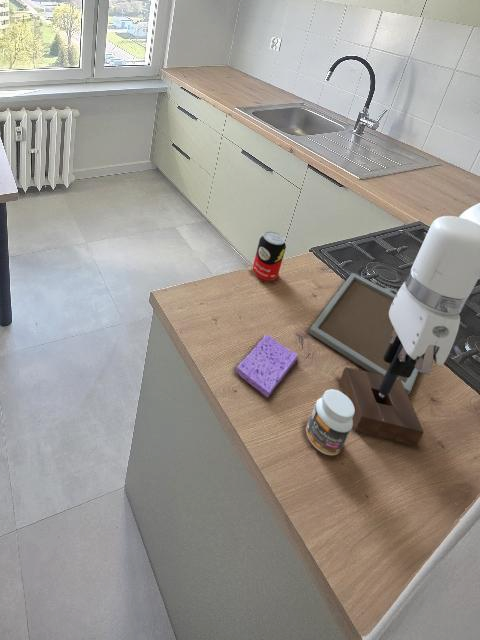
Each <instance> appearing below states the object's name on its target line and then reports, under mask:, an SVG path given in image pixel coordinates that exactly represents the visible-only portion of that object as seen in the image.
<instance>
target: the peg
mask: <svg viewBox="0 0 480 640" xmlns="http://www.w3.org/2000/svg"><path fill="white" fill-rule="evenodd" d="M402 348H403V345H402V343H400V345H399V348H398V350H397V352H396V354H395V355H399V354H400V352H401V350H402ZM394 357H395V356H394ZM393 359H394V358H393ZM392 361H393V360H392ZM391 363H392V362H391ZM390 365H391V364H390ZM389 367H390V366H389ZM397 377H398V375H394V374H390V372H389V368H388V370H387V372H386V374H385V376H384V378H383V380H382V382H381V384H380V386H379V388H378V390H379V392H380V393H379V395H380V396H381V397H384V396H388V395H389V393H390V391H391V389H392V387H393V385H394V383H395V381H396V379H397Z"/></svg>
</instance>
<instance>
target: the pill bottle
mask: <svg viewBox="0 0 480 640" xmlns="http://www.w3.org/2000/svg"><path fill="white" fill-rule="evenodd" d="M354 413H355V408H354V405H353V403H352V401H351V400H350V399H349V398H348V397H347V396H346V395H345V394H344V392H343V391H340V390H337V389H326V391H324V392H323V394H322V396H321V397H319V398H318V399H317V400H316V402H315V405H314V407H313V410H312V412H311V415H310V417H309V419H308V422H307V424H306V428H305V431H306V436H307V438H308V441H309V442H310V443H311V445H312V446H313V447H314V448H315V449H316V450H318V451H319V452H320V453H322V454H324V455H327V456H336V455H338V454H339V453H340V452H341V451H342V449H343V447H344V445H345V443H346V441H347V439H348V437H349V435H350V433H351V431H352V430H353V427H354V425H353V419H352V418H353V415H354Z"/></svg>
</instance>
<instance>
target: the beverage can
mask: <svg viewBox="0 0 480 640" xmlns="http://www.w3.org/2000/svg"><path fill="white" fill-rule="evenodd" d="M285 241H286V239H285V237H284V236H283V235H282V234H280V233H278V232H277V231H265V232H264V233H263V235H262V236H260V238H259V241H258V245H257V248H256V253H255V256H254V260H253V264H252V271H253V273H254V274H255V275H256V276H257V277H258V278H259V279H261V280H263V281H274V280H276V279H277V278H278V277H279V273H280V270H281V266H282V263H283V260H284V256H285V252H286V249H287V246H286V242H285ZM254 267H255V268H254Z"/></svg>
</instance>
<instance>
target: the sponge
mask: <svg viewBox="0 0 480 640" xmlns="http://www.w3.org/2000/svg"><path fill="white" fill-rule="evenodd" d="M298 356H299V354H297V353H296V352H295V351H292V350H291V349H290V348H288V347H286V346H284V345H282V344H281V343H280V342H278V341H277V340H276V339H274V338H273V337H272V336H270V335H268V334H267V333H266V334H265V335H264V336H263V337H262V338H261V340H260V341H259V342H258V343H257V345H256V346H255V347H254V348H253V349H252V350H251V351H250V353H248V355H247V356H246V357H244V358H243V360H242V361H240V363H239V364H238V365H237V366H236V369H235V372H236V373H237V375H239V377H241V378H242V379H243V380H244V381H245V382H247V383H248V384H249V385H251V386H252V387H253V388H254V389H256V390H257V391H258V392H259V393H261V394H262V395H263V396H265V398H269V397H270V395H271V394H272V393H273V392H274V390H275V388H277V386H278V385H279V383H280V382H281V381H282V380H283V378H285V376H286V374H287V373H288V372H289V371H290V369H291V368H292V367H293V365H295V363H296V362H297V358H298Z"/></svg>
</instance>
